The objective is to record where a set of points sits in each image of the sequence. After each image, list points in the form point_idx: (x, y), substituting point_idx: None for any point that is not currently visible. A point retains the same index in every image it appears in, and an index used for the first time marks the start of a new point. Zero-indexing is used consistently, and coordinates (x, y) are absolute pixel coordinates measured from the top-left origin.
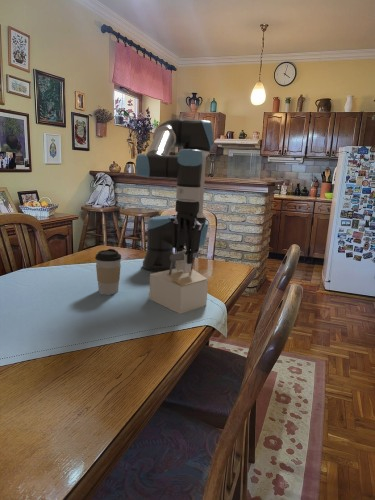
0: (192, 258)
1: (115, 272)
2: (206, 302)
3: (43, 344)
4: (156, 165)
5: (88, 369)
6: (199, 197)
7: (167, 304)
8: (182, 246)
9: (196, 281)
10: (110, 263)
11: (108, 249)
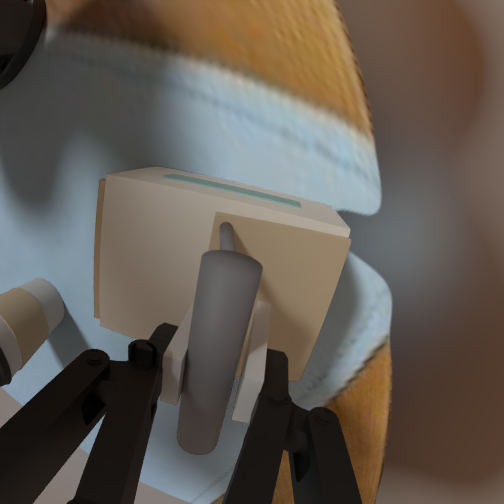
0: (287, 377)
1: (30, 342)
2: (331, 207)
3: (190, 485)
4: None
5: (286, 496)
6: None
7: None
8: (148, 389)
9: (325, 312)
10: (14, 372)
11: None
